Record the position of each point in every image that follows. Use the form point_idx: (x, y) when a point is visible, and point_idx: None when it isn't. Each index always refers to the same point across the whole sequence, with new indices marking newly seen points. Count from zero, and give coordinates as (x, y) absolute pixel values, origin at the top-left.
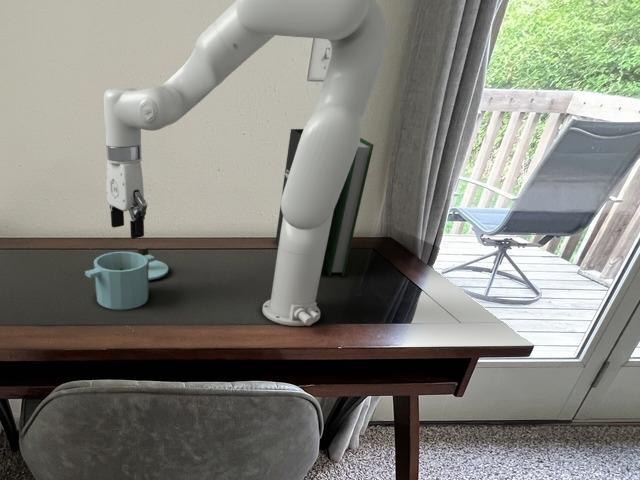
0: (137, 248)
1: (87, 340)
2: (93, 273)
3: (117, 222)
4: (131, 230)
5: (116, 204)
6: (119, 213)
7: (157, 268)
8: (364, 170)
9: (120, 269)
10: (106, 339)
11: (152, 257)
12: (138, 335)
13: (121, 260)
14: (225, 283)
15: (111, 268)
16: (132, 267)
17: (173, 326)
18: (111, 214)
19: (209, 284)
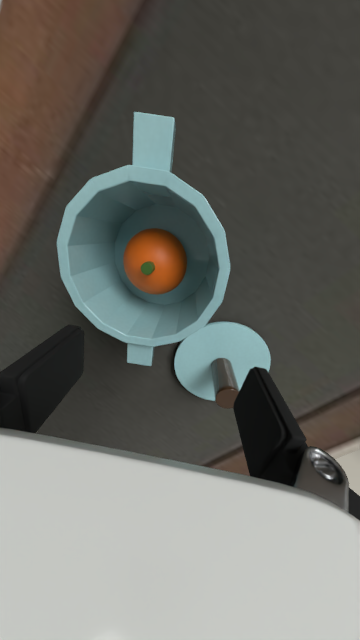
0: (235, 389)
1: (29, 25)
2: (133, 131)
3: (249, 397)
4: (46, 341)
5: (94, 499)
6: (256, 447)
7: (200, 379)
8: None
9: (143, 263)
10: (14, 80)
11: (128, 357)
12: (3, 163)
13: (197, 310)
14: (99, 403)
15: (209, 280)
16: (173, 318)
17: (10, 246)
18: (284, 416)
19: (110, 389)
